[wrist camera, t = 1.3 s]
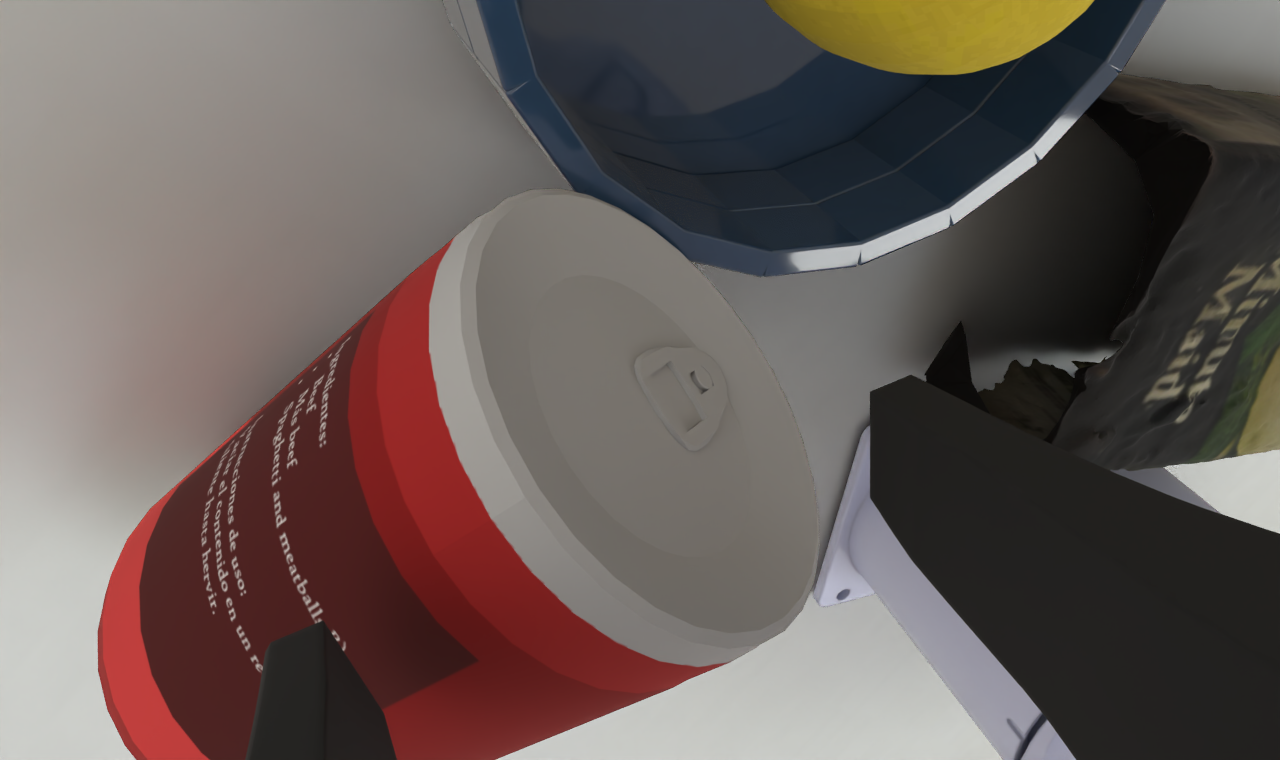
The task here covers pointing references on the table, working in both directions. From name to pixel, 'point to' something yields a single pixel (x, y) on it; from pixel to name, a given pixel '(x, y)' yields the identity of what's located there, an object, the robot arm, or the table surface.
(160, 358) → the table surface
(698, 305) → the canned food
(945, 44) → the lemon
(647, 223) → the bowl
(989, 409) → the juice carton
